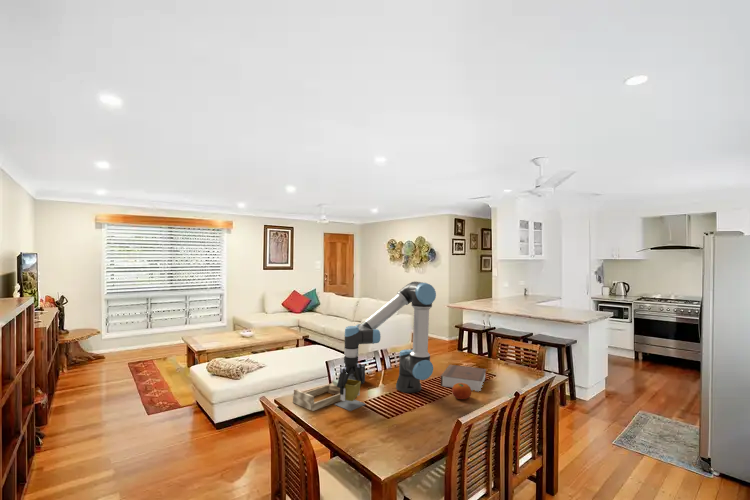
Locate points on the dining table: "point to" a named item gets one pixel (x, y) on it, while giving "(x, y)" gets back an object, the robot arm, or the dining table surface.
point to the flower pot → (352, 389)
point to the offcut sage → (335, 382)
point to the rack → (308, 398)
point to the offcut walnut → (333, 392)
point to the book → (463, 376)
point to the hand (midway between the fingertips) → (350, 397)
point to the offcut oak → (333, 387)
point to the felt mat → (350, 404)
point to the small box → (362, 374)
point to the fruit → (461, 391)
